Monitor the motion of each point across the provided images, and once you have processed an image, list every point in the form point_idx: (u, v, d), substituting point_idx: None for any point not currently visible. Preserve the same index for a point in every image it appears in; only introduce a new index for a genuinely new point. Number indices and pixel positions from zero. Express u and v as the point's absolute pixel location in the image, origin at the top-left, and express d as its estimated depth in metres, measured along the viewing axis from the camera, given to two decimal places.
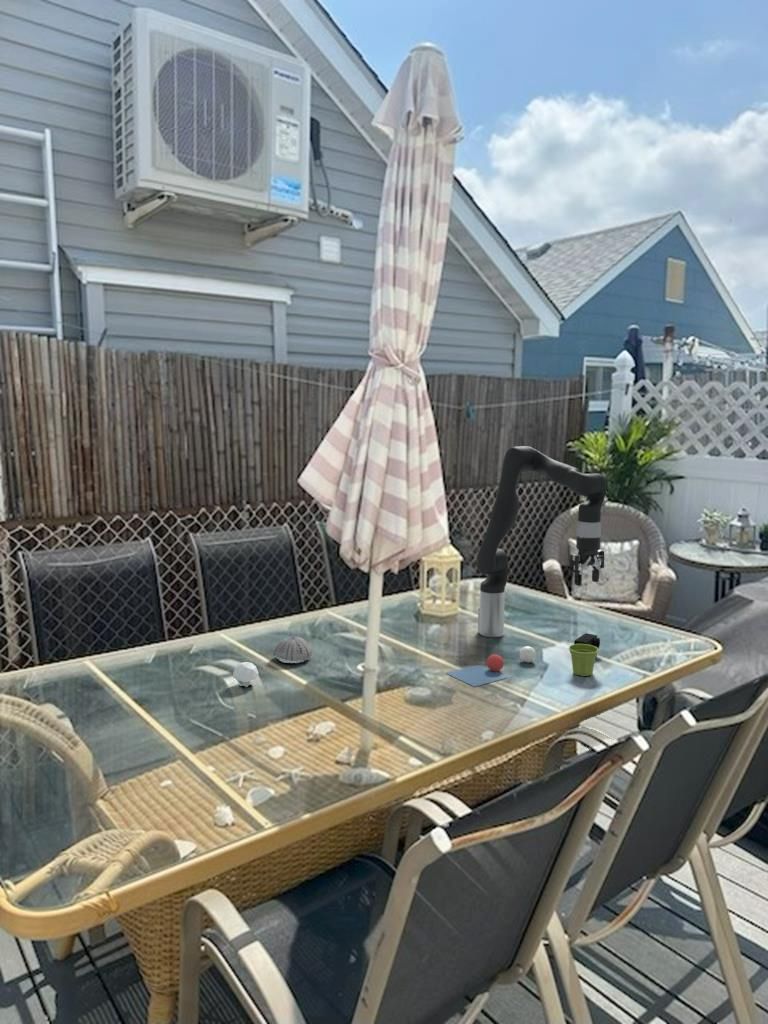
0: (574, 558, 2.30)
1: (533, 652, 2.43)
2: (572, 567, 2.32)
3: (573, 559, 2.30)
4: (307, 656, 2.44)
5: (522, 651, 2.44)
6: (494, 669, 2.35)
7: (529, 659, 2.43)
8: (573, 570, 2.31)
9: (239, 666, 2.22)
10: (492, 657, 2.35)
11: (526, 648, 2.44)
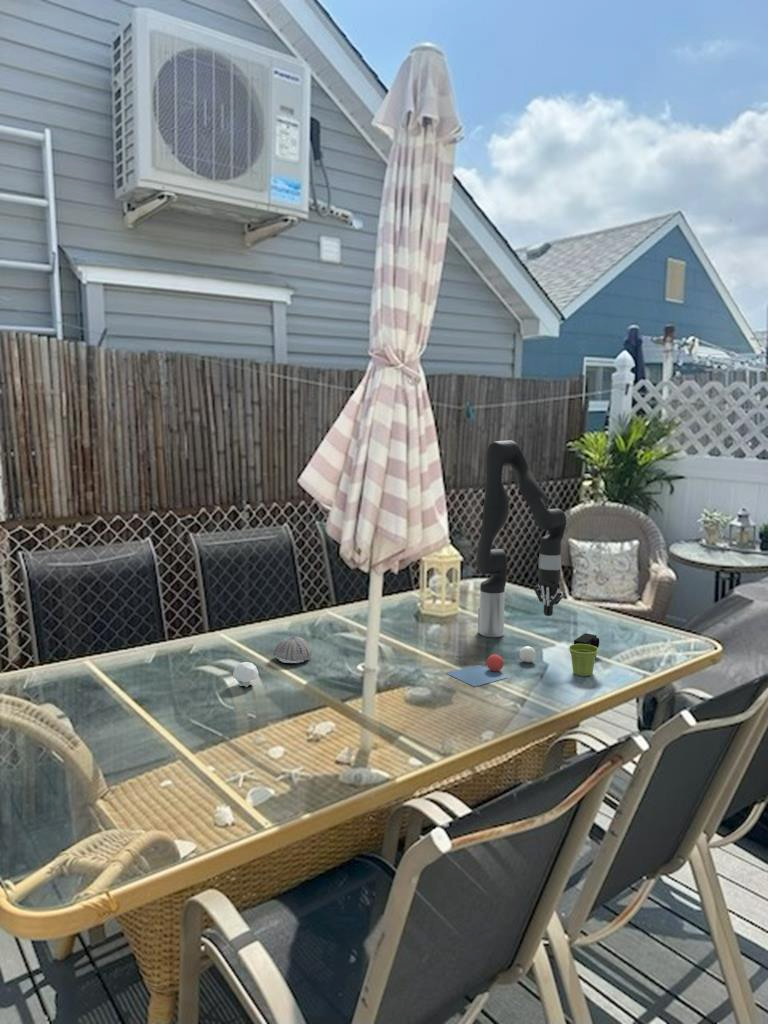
0: (561, 596, 2.43)
1: (533, 652, 2.43)
2: None
3: (560, 597, 2.43)
4: (307, 656, 2.44)
5: (522, 651, 2.44)
6: (494, 669, 2.35)
7: (529, 659, 2.43)
8: None
9: (239, 666, 2.22)
10: (492, 657, 2.35)
11: (526, 648, 2.44)
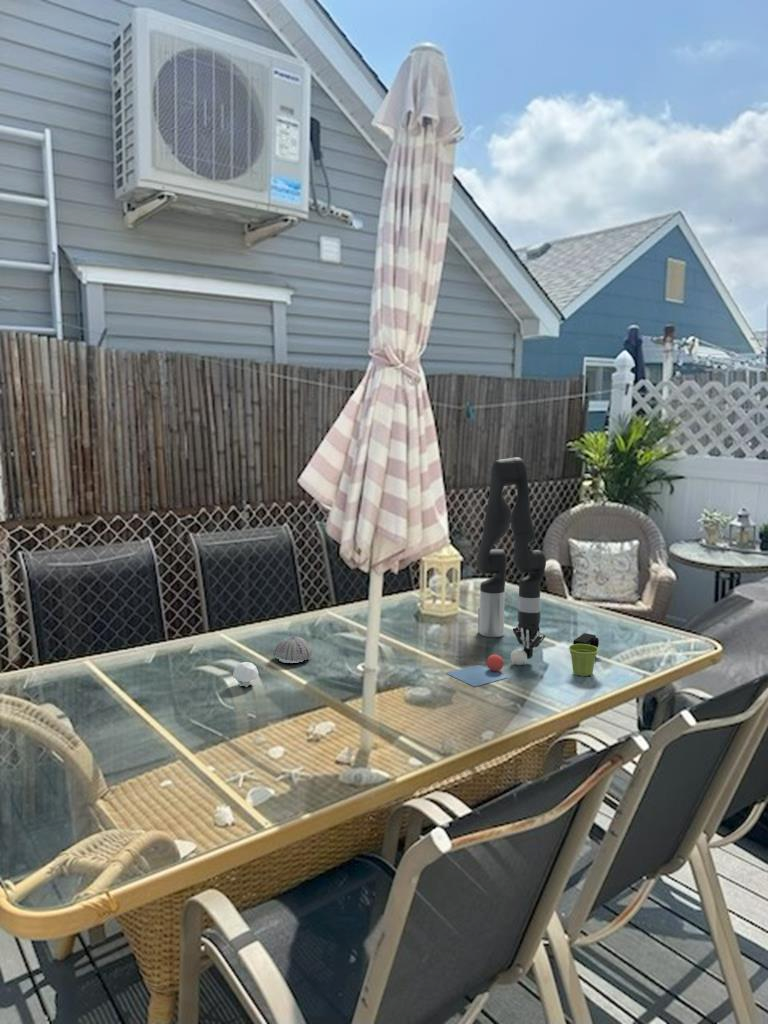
0: (541, 639, 2.39)
1: (522, 657, 2.40)
2: None
3: (540, 640, 2.39)
4: (307, 656, 2.44)
5: (513, 661, 2.42)
6: (494, 669, 2.35)
7: (523, 663, 2.41)
8: (535, 645, 2.41)
9: (239, 666, 2.22)
10: (492, 657, 2.35)
11: (514, 658, 2.41)
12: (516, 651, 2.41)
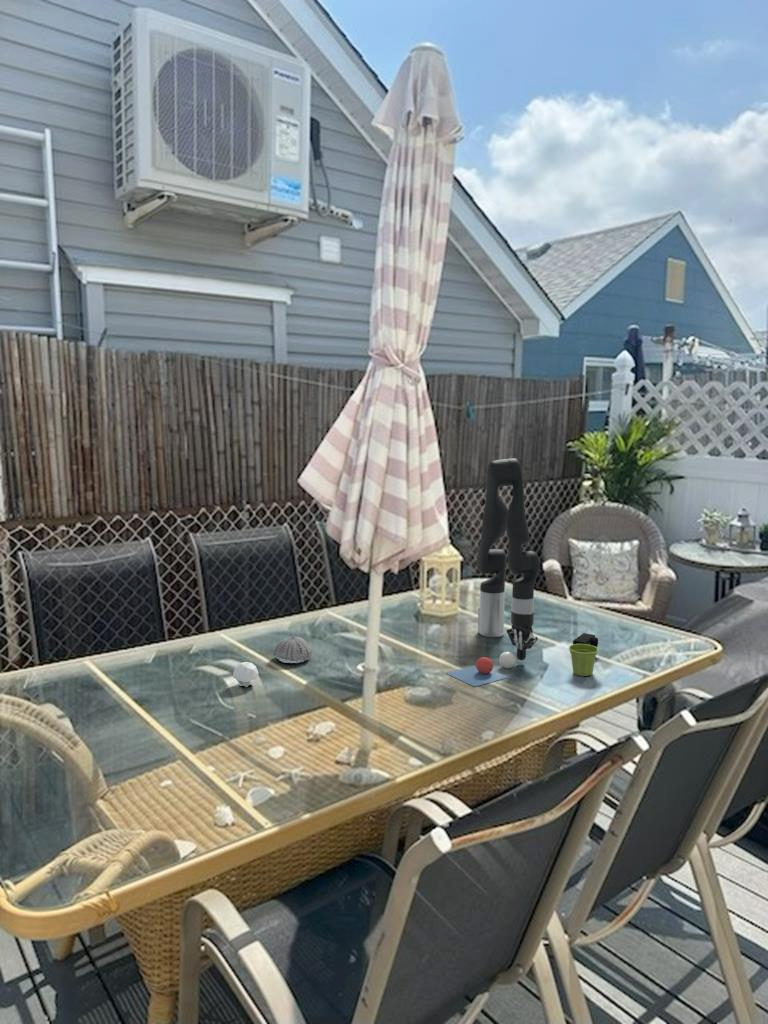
0: (534, 641, 2.38)
1: (511, 665, 2.37)
2: None
3: (533, 642, 2.38)
4: (307, 656, 2.44)
5: None
6: None
7: (515, 658, 2.39)
8: None
9: (239, 666, 2.22)
10: (480, 672, 2.33)
11: None
12: (504, 667, 2.39)
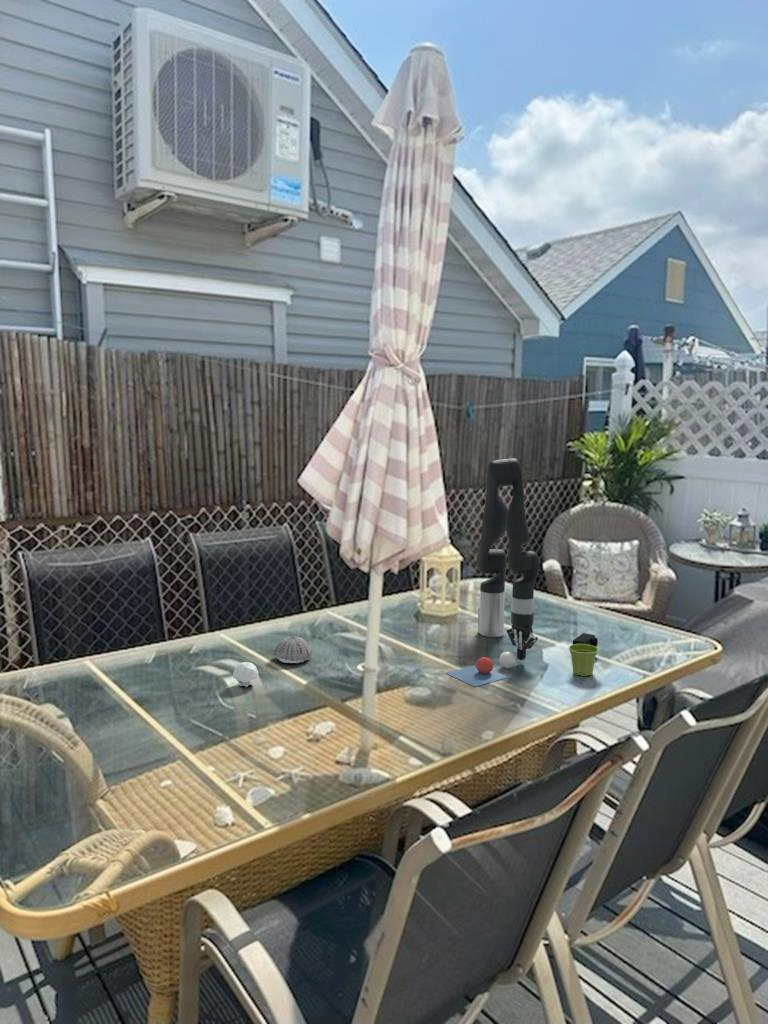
0: (534, 641, 2.38)
1: (511, 665, 2.37)
2: None
3: (533, 642, 2.38)
4: (307, 656, 2.44)
5: None
6: None
7: (515, 658, 2.39)
8: None
9: (239, 666, 2.22)
10: (480, 672, 2.33)
11: None
12: (504, 667, 2.39)
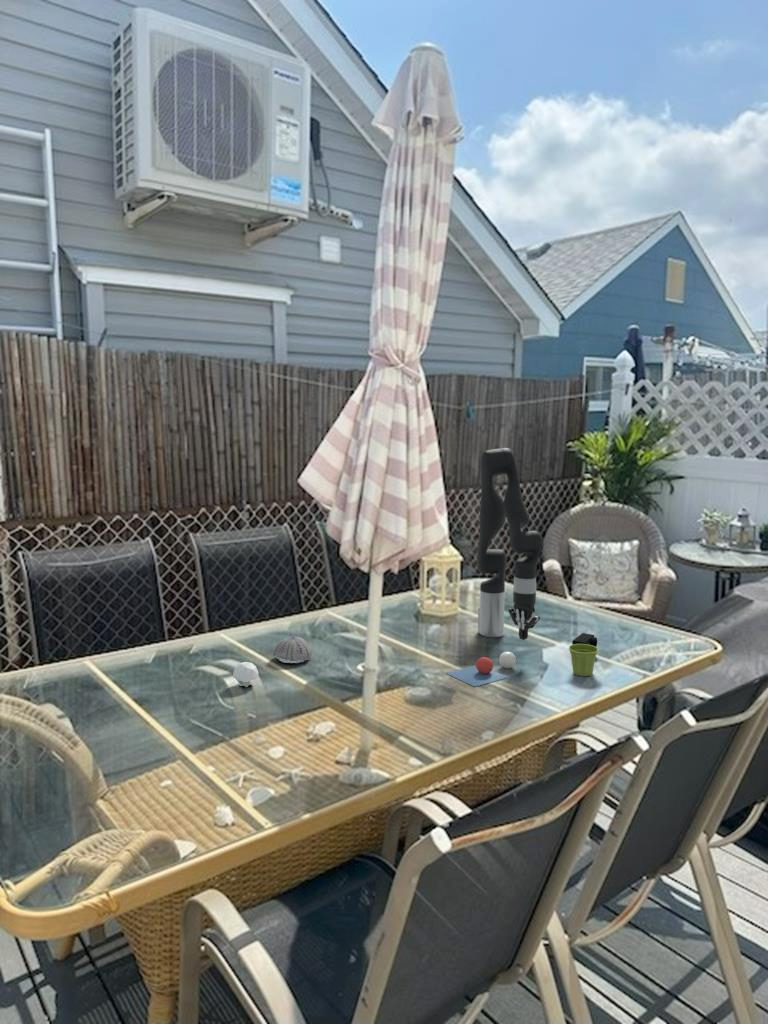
0: (537, 620, 2.37)
1: (511, 665, 2.37)
2: None
3: (535, 621, 2.37)
4: (307, 656, 2.44)
5: None
6: None
7: (515, 658, 2.39)
8: (530, 626, 2.40)
9: (239, 666, 2.22)
10: (480, 672, 2.33)
11: None
12: (504, 667, 2.39)
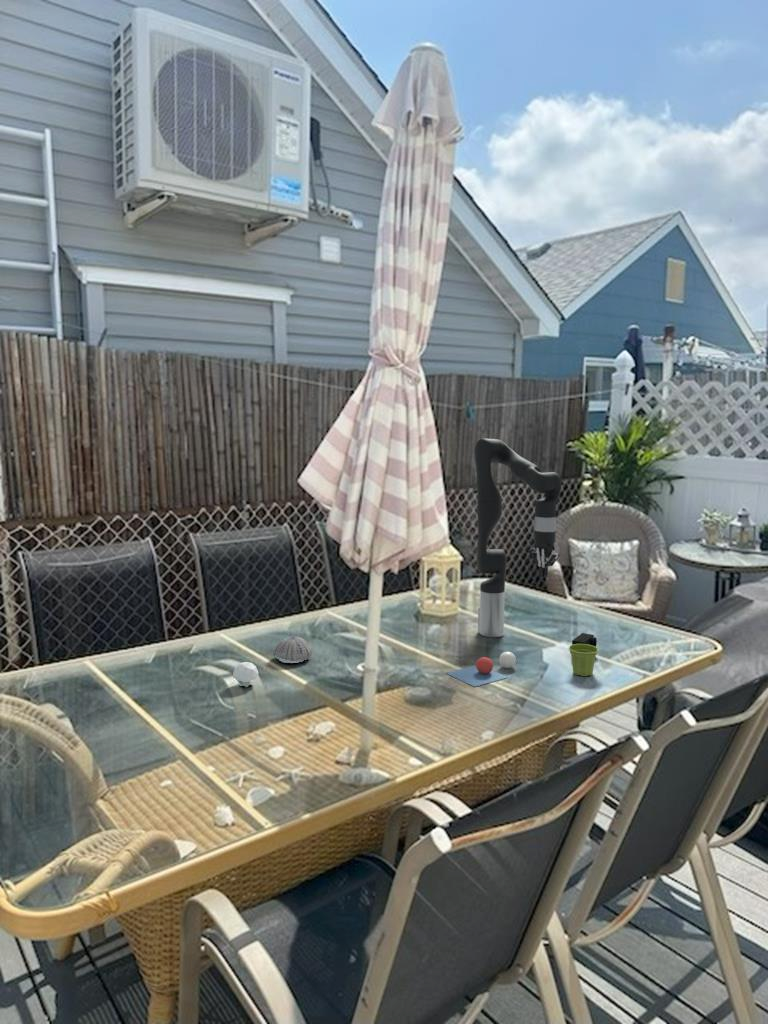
0: (556, 557, 2.48)
1: (511, 665, 2.37)
2: None
3: (555, 558, 2.48)
4: (307, 656, 2.44)
5: None
6: None
7: (515, 658, 2.39)
8: (550, 564, 2.51)
9: (239, 666, 2.22)
10: (480, 672, 2.33)
11: None
12: (504, 667, 2.39)
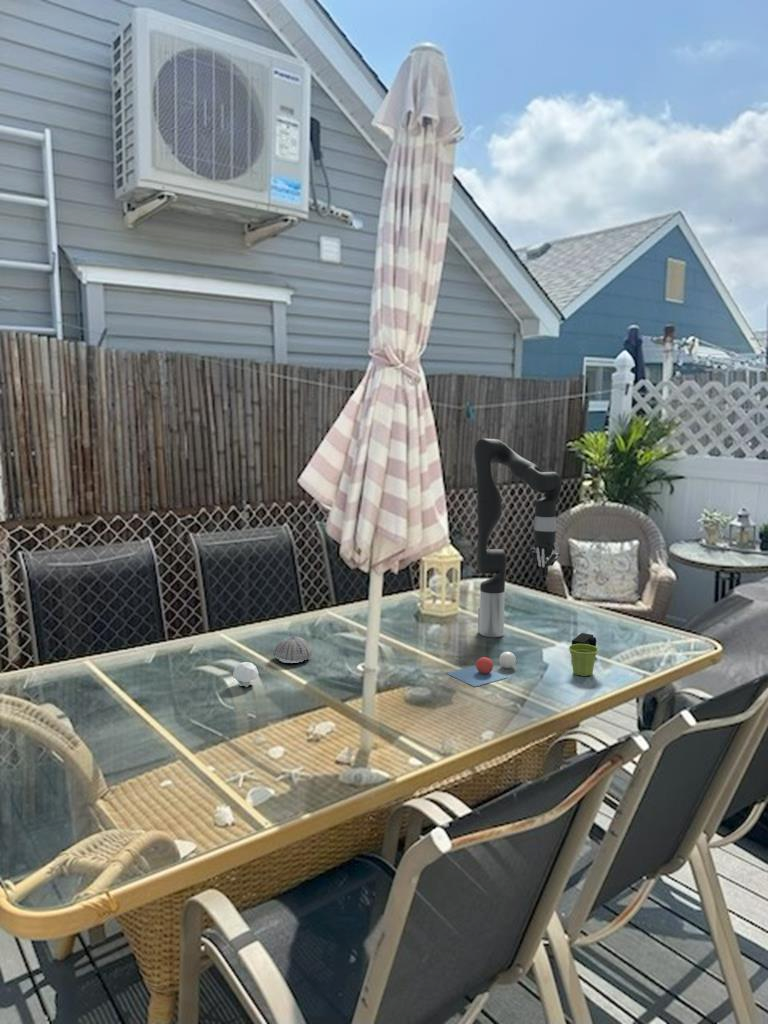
0: (556, 557, 2.48)
1: (511, 665, 2.37)
2: None
3: (555, 558, 2.48)
4: (307, 656, 2.44)
5: None
6: None
7: (515, 658, 2.39)
8: None
9: (239, 666, 2.22)
10: (480, 672, 2.33)
11: None
12: (504, 667, 2.39)
